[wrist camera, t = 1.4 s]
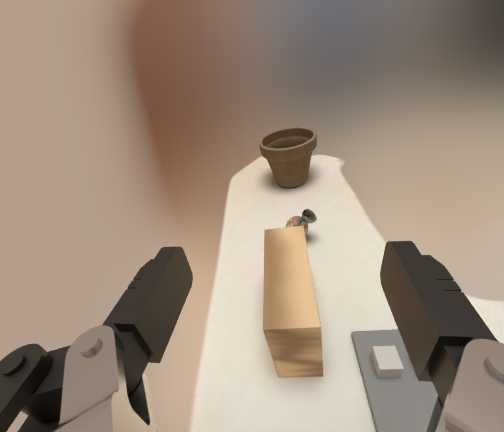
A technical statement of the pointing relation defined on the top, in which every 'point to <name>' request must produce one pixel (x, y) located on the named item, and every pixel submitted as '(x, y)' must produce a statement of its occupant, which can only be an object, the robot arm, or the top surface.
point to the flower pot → (289, 154)
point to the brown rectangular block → (291, 305)
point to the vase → (302, 220)
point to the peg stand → (392, 382)
